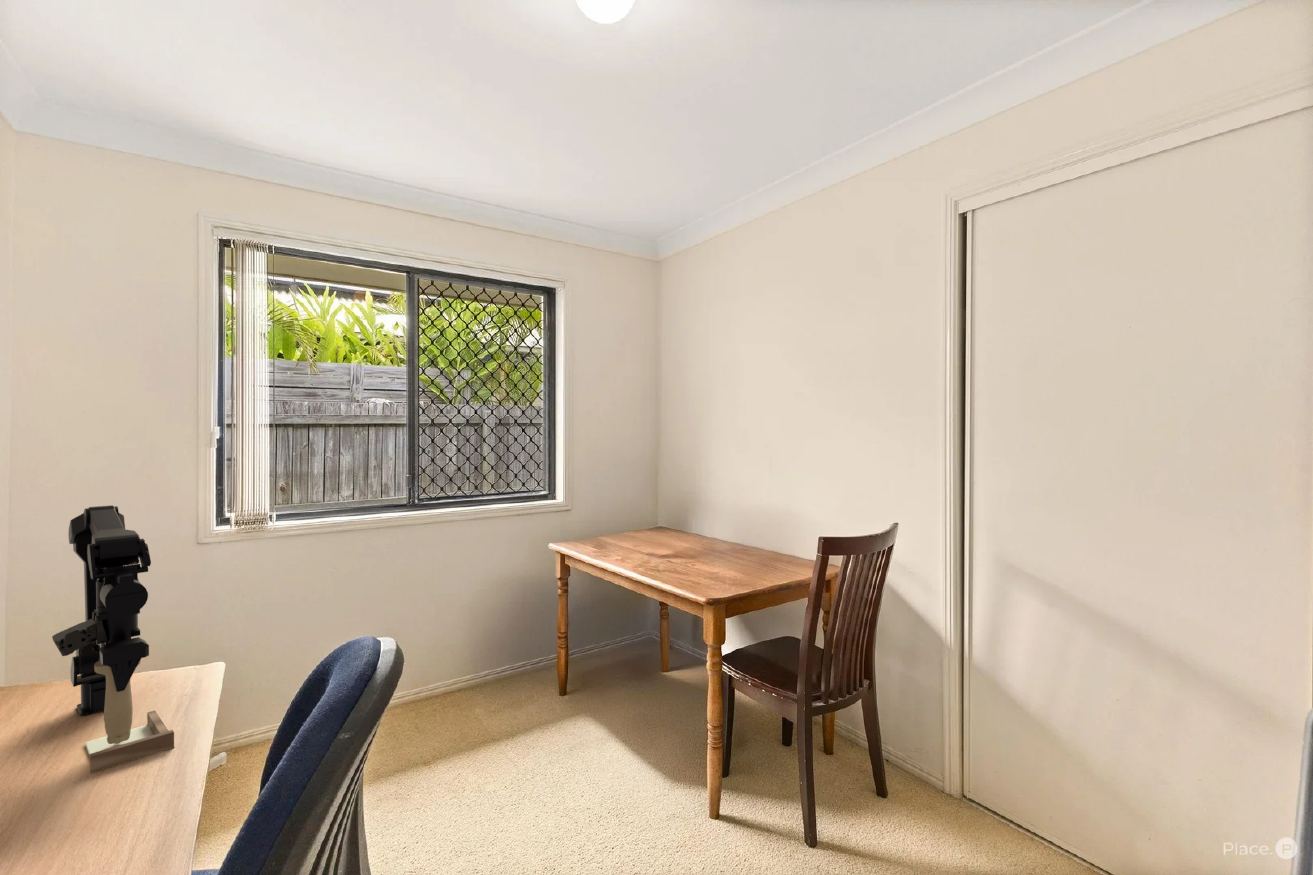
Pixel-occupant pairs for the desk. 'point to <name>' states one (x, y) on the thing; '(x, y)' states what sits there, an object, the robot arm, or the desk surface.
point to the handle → (116, 708)
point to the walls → (135, 746)
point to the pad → (103, 744)
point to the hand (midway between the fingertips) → (118, 687)
